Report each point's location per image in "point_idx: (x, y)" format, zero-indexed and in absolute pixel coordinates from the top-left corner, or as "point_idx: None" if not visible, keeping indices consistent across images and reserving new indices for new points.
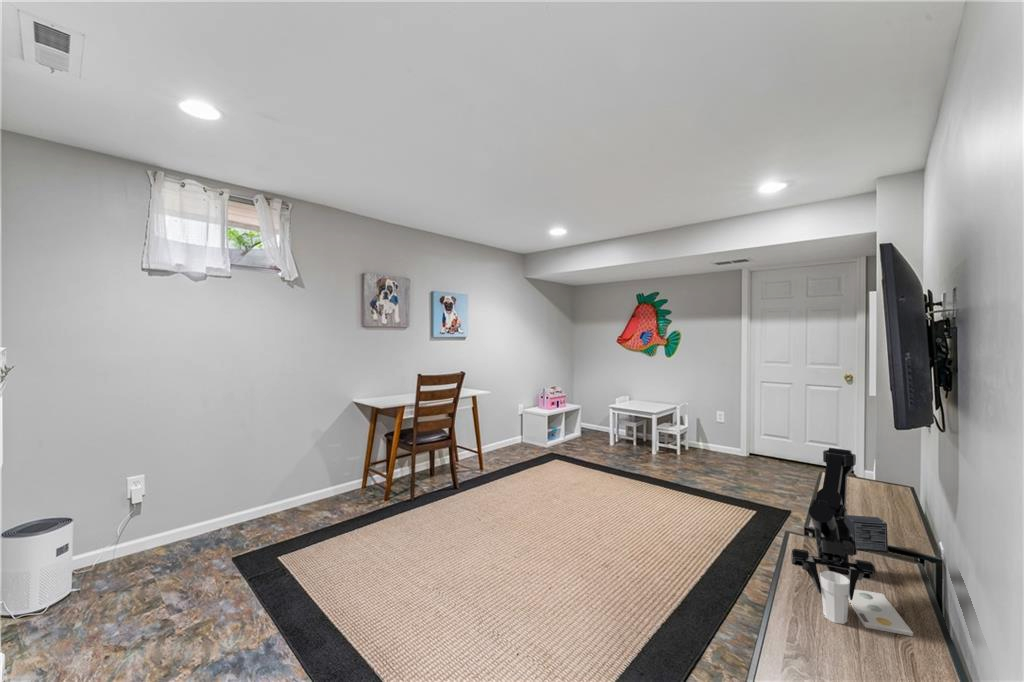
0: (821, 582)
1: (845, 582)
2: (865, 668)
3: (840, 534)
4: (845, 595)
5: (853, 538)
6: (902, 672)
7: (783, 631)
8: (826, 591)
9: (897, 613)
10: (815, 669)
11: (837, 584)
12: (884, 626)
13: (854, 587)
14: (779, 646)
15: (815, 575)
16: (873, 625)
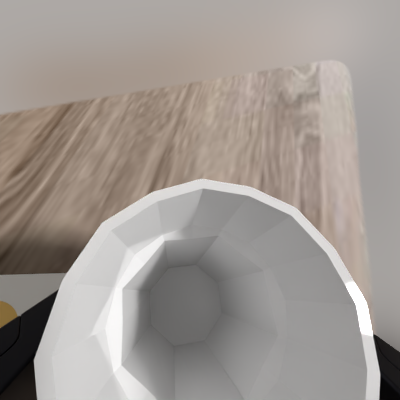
0: (311, 288)
1: (90, 384)
2: (176, 96)
3: None
4: (150, 247)
5: None
6: (98, 100)
7: (329, 168)
8: (257, 259)
9: None
10: (268, 77)
11: (219, 187)
12: (11, 286)
13: (39, 303)
14: (329, 118)
15: (389, 355)
16: (58, 275)
